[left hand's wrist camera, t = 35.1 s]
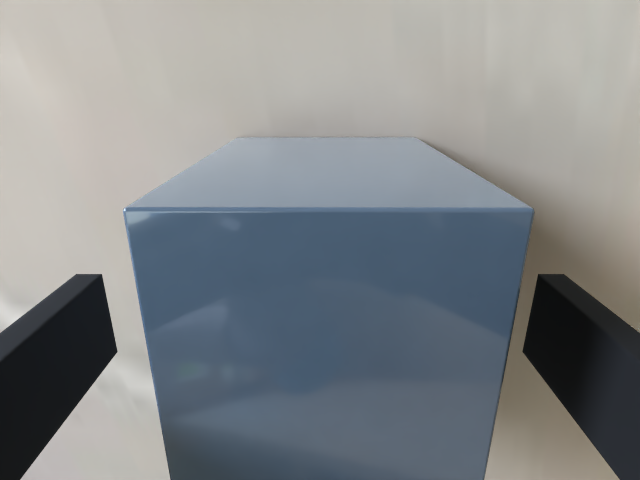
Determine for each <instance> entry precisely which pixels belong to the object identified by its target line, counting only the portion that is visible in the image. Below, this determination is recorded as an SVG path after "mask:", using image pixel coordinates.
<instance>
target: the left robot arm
mask: <svg viewBox="0 0 640 480" xmlns="http://www.w3.org/2000/svg"><path fill="white" fill-rule="evenodd" d="M116 353H117V347H116V342H115V337H114V332H113V327H112V322H111V318H110V313H109V308H108V303H107V298H106V293H105V288H104V283H103V278H102V274H76V275H75V276H73V277H72V278H71V279H70V280H68V281H67V282H66V283H64V284H63V285H62V286H61V287H59V288H58V289H57V290H55V291H54V292H53V293H51V294H50V295H49V296H48V297H46V298H45V299H44V300H42V301H41V302H40V303H39V304H37V305H36V306H35V307H33V308H32V309H31V310H30V311H28V312H27V313H26V314H24V315H23V316H22V317H21V318H19V319H18V320H17V321H15V322H14V323H13V324H11V325H10V326H9V327H8V328H6V329H5V330H4V331H2V332H1V333H0V480H20V479H21V478H22V476H23V475H24V474H25V472H26V471H27V470H28V468H29V467H30V466H31V465H32V463H33V462H34V461H35V459H36V458H37V457H38V455H39V454H40V453H41V451H42V450H43V449H44V447H45V446H46V445H47V444H48V442H49V441H50V440H51V438H52V437H53V436H54V434H55V433H56V432H57V430H58V429H59V428H60V426H61V425H62V424H63V422H64V421H65V420H66V419H67V417H68V416H69V415H70V413H71V412H72V411H73V409H74V408H75V407H76V405H77V404H78V403H79V401H80V400H81V399H82V397H83V396H84V395H85V394H86V392H87V391H88V390H89V388H90V387H91V386H92V384H93V383H94V382H95V380H96V379H97V378H98V376H99V375H100V374H101V373H102V371H103V370H104V369H105V367H106V366H107V365H108V363H109V362H110V361H111V359H112V358H113V357H114V355H115V354H116ZM523 353H524V354H525V355H526V357H527V358H528V359H529V361H530V362H531V363H532V365H533V366H534V367H535V369H536V370H537V371H538V373H539V374H540V375H541V376H542V378H543V379H544V380H545V382H546V383H547V384H548V386H549V387H550V388H551V390H552V391H553V392H554V394H555V395H556V396H557V398H558V399H559V400H560V401H561V403H562V404H563V405H564V407H565V408H566V409H567V411H568V412H569V413H570V415H571V416H572V417H573V419H574V420H575V421H576V422H577V424H578V425H579V426H580V428H581V429H582V430H583V432H584V433H585V434H586V436H587V437H588V438H589V440H590V441H591V442H592V444H593V445H594V446H595V447H596V449H597V450H598V451H599V453H600V454H601V455H602V457H603V458H604V459H605V461H606V462H607V463H608V465H609V466H610V467H611V468H612V470H613V471H614V472H615V474H616V475H617V476H618V478H619V479H620V480H640V333H639V332H638V331H636V330H635V329H634V328H632V327H631V326H630V325H629V324H627V323H626V322H625V321H623V320H622V319H621V318H619V317H618V316H617V315H616V314H614V313H613V312H612V311H610V310H609V309H608V308H607V307H605V306H604V305H603V304H601V303H600V302H599V301H598V300H596V299H595V298H594V297H592V296H591V295H590V294H589V293H587V292H586V291H585V290H583V289H582V288H581V287H579V286H578V285H577V284H576V283H574V282H573V281H572V280H570V279H569V278H568V277H567V276H565V275H564V274H538V278H537V283H536V288H535V293H534V298H533V303H532V308H531V313H530V318H529V322H528V327H527V332H526V337H525V342H524V347H523Z"/></svg>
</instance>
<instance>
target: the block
mask: <svg viewBox="0 0 640 480" xmlns="http://www.w3.org/2000/svg"><path fill="white" fill-rule="evenodd" d="M123 214H124V220H125V225H126V231H127V236H128V242H129V248H130V253H131V259H132V265H133V270H134V276H135V282H136V287H137V293H138V298H139V304H140V310H141V315H142V321H143V327H144V332H145V338H146V344H147V349H148V355H149V360H150V366H151V372H152V377H153V383H154V389H155V394H156V400H157V406H158V411H159V417H160V422H161V428H162V434H163V439H164V445H165V451H166V456H167V462H168V468H169V473H170V479H171V480H484V478H485V472H486V467H487V462H488V456H489V451H490V446H491V441H492V435H493V430H494V425H495V419H496V414H497V409H498V403H499V398H500V393H501V387H502V382H503V377H504V371H505V366H506V361H507V356H508V350H509V345H510V340H511V334H512V329H513V324H514V318H515V313H516V308H517V302H518V297H519V292H520V287H521V281H522V276H523V271H524V265H525V260H526V255H527V249H528V244H529V239H530V233H531V228H532V223H533V217H534V209H533V208H532V207H530V206H529V205H527V204H525V203H524V202H522V201H520V200H519V199H517V198H515V197H514V196H512V195H510V194H509V193H507V192H505V191H504V190H502V189H500V188H499V187H497V186H495V185H494V184H492V183H490V182H489V181H487V180H485V179H484V178H482V177H481V176H479V175H477V174H476V173H474V172H472V171H471V170H469V169H467V168H466V167H464V166H462V165H461V164H459V163H457V162H456V161H454V160H452V159H451V158H449V157H447V156H446V155H444V154H442V153H441V152H439V151H437V150H436V149H434V148H433V147H431V146H429V145H428V144H426V143H424V142H423V141H421V140H419V139H418V138H416V137H237V138H235V139H234V140H232V141H231V142H229V143H227V144H226V145H224V146H223V147H221V148H219V149H218V150H216V151H215V152H213V153H211V154H210V155H208V156H207V157H205V158H203V159H202V160H200V161H199V162H197V163H195V164H194V165H192V166H191V167H189V168H187V169H186V170H184V171H183V172H181V173H179V174H178V175H176V176H175V177H173V178H171V179H170V180H168V181H167V182H165V183H163V184H162V185H160V186H159V187H157V188H155V189H154V190H152V191H151V192H149V193H147V194H146V195H144V196H143V197H141V198H139V199H138V200H136V201H135V202H133V203H131V204H130V205H128V206H127V207H125V208H124V210H123Z"/></svg>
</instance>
